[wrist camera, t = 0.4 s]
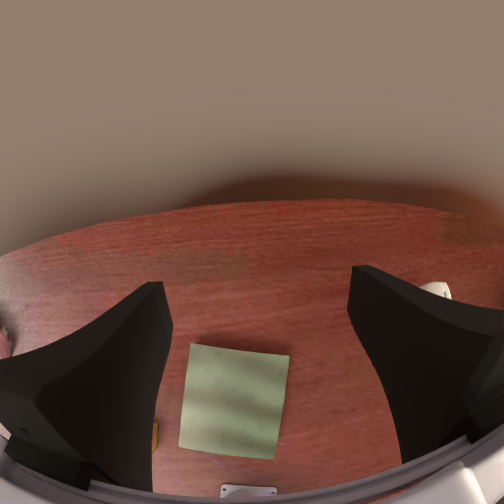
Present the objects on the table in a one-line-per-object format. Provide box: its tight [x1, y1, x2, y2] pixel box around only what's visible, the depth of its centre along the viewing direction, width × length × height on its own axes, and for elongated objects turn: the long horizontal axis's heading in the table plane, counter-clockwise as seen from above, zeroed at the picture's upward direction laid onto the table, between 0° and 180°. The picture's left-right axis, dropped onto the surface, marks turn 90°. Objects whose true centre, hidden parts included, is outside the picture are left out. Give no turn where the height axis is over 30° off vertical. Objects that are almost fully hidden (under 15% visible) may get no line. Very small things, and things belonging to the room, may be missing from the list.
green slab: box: [178, 343, 290, 459], centre depth 32 cm, size 14×12×4 cm
